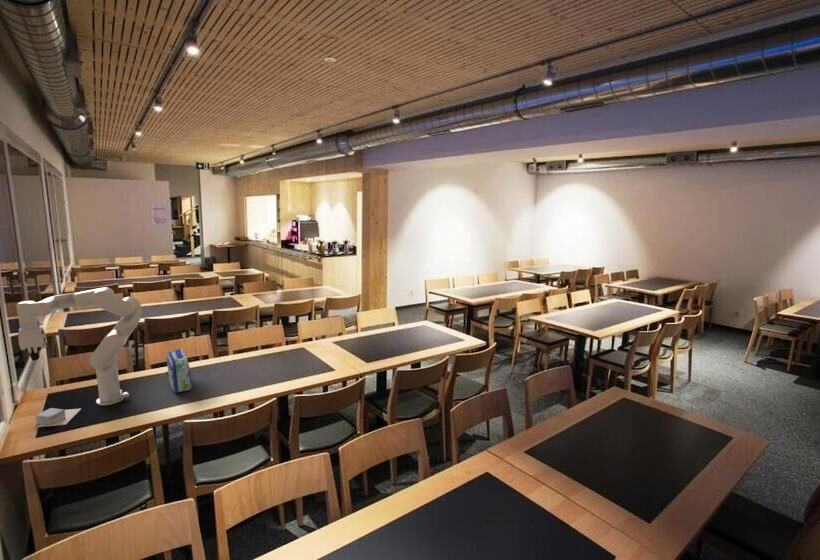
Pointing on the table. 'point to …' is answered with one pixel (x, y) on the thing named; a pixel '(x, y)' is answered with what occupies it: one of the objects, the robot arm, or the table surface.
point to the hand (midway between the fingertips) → (35, 359)
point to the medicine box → (50, 416)
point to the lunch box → (178, 371)
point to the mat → (68, 416)
